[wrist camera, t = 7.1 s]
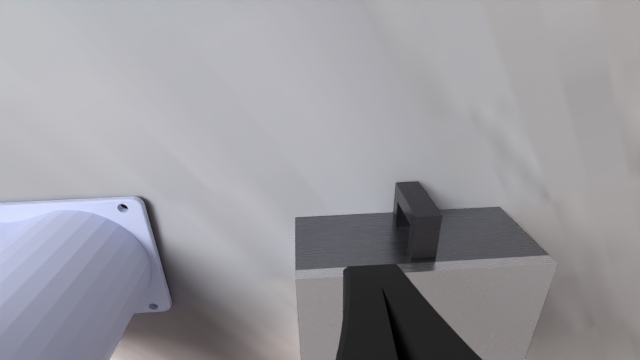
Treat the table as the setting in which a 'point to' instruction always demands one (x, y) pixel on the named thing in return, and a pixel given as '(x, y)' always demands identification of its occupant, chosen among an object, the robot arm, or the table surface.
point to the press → (427, 271)
